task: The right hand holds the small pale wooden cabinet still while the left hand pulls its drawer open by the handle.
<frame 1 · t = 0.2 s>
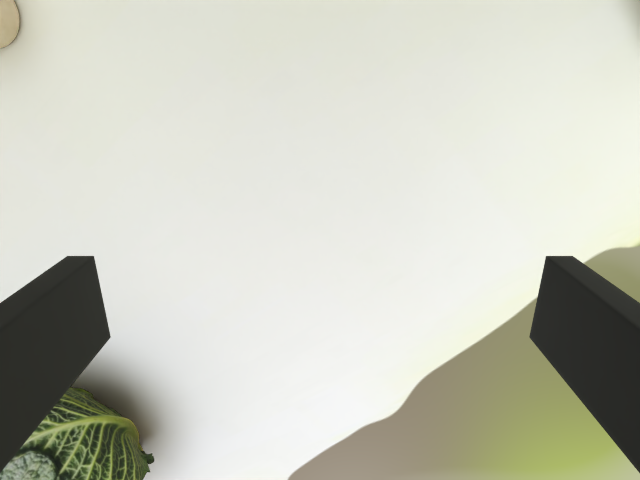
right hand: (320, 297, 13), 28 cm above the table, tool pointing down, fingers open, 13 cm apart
vegetable: (89, 422, 50), on the table
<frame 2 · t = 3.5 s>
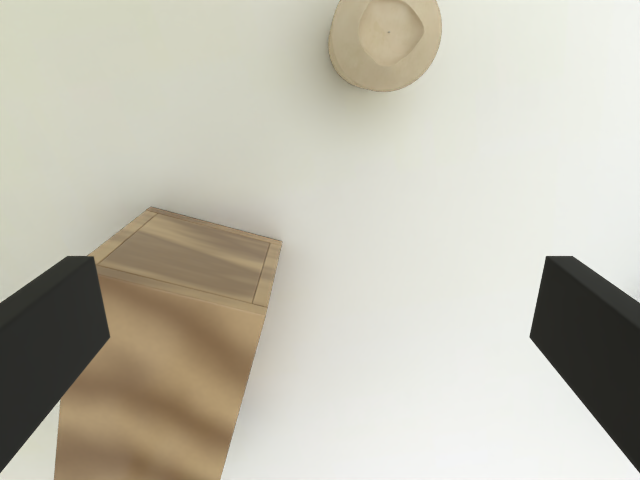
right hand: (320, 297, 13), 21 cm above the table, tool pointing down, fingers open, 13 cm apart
cabinet: (198, 313, 37), on the table
candle: (367, 45, 29), on the table
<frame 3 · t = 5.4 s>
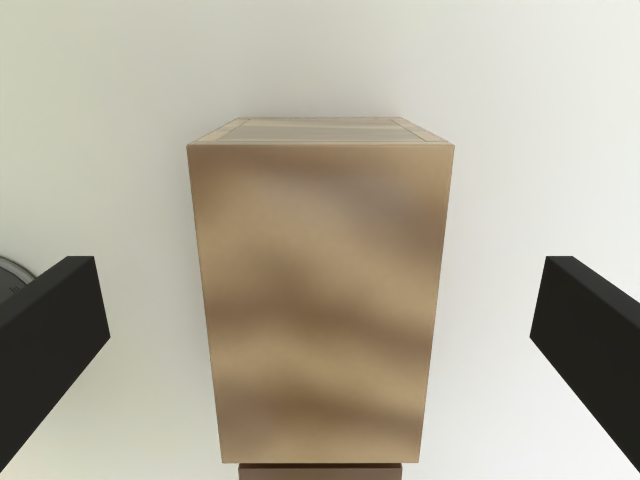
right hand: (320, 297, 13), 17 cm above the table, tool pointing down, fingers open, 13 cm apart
cabinet: (320, 240, 31), on the table
drawer: (320, 361, 27), point 6 cm above the table, slide at 1.5 cm
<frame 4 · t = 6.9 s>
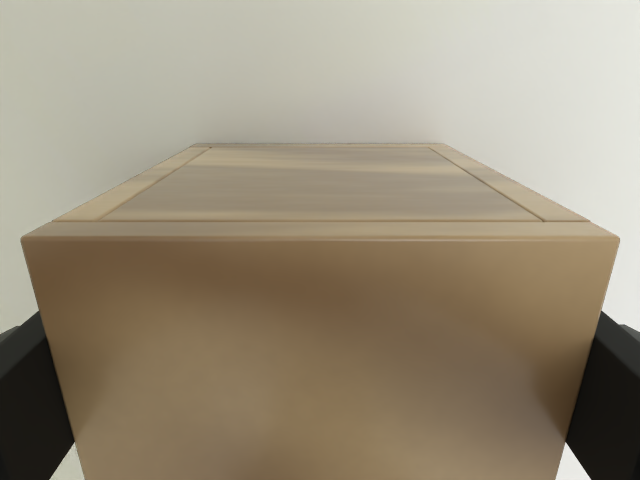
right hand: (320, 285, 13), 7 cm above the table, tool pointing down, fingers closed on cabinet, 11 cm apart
cabinet: (319, 317, 21), on the table, touching right hand
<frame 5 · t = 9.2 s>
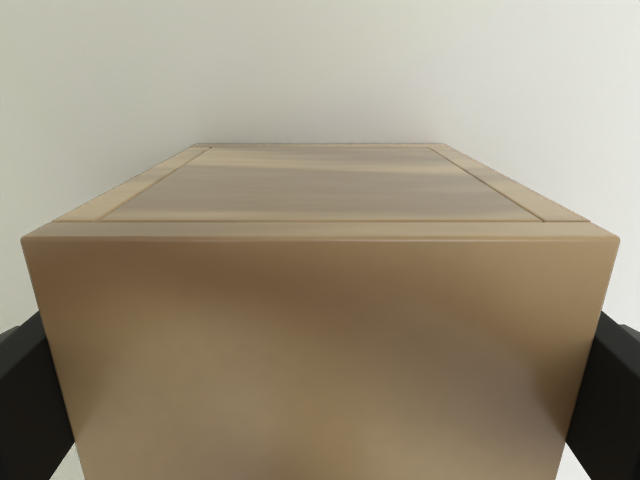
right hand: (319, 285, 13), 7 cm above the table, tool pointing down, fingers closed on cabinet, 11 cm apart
cabinet: (319, 317, 21), on the table, touching right hand
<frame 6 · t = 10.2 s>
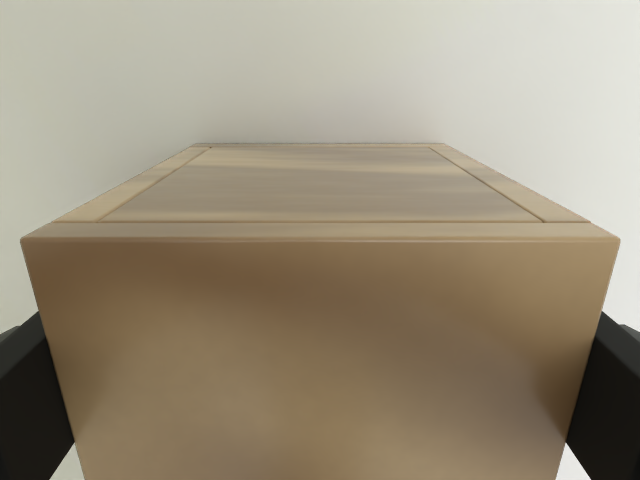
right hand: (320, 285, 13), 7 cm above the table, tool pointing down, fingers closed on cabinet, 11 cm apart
cabinet: (319, 316, 21), on the table, touching right hand
when the right hand's fingers open (7 cm above the table, at t = 11.7 s): cabinet stays where it is, on the table.
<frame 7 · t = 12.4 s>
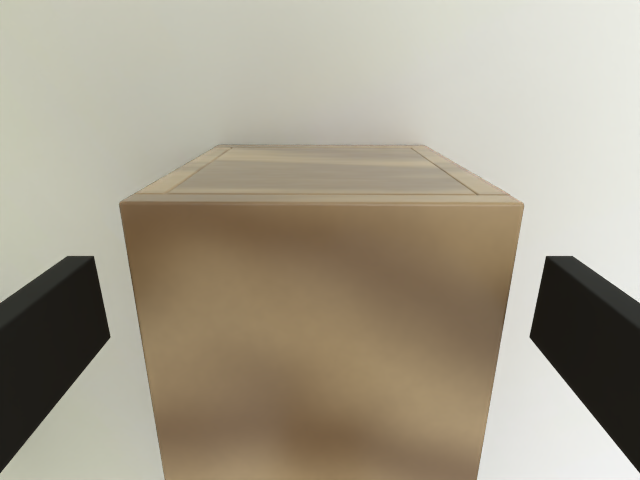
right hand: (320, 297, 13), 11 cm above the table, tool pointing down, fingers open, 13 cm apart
cabinet: (321, 293, 25), on the table
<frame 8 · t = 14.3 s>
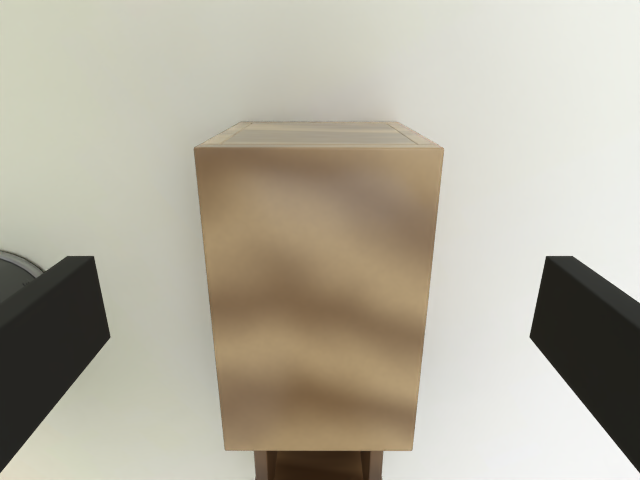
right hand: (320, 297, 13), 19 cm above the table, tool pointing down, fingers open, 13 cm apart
cabinet: (319, 239, 32), on the table
drawer: (318, 430, 31), point 6 cm above the table, slide at 8.2 cm
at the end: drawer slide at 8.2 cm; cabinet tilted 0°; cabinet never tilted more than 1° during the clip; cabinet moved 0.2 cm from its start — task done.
